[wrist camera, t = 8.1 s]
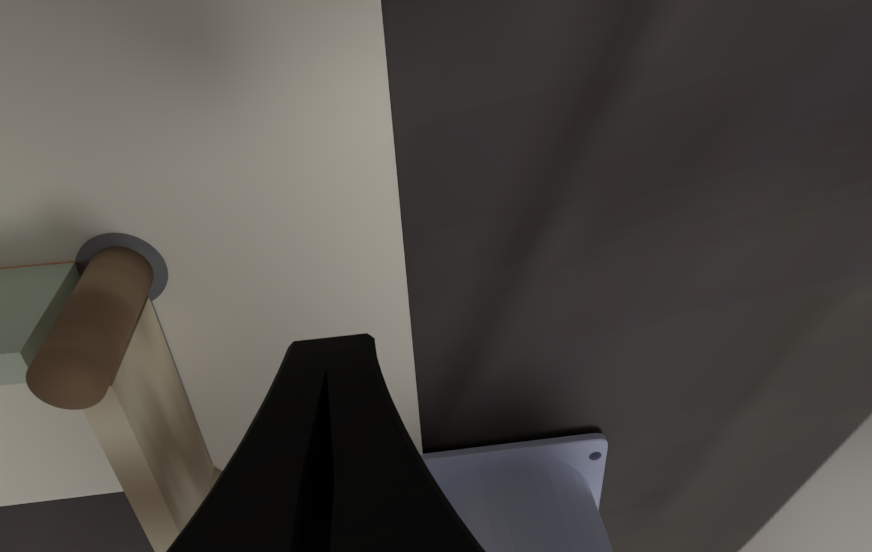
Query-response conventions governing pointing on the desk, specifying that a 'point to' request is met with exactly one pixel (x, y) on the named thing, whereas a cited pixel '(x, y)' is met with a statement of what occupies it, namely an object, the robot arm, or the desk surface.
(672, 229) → the desk surface
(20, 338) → the fence swing panel
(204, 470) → the fence fixed section
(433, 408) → the desk surface
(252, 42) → the card
